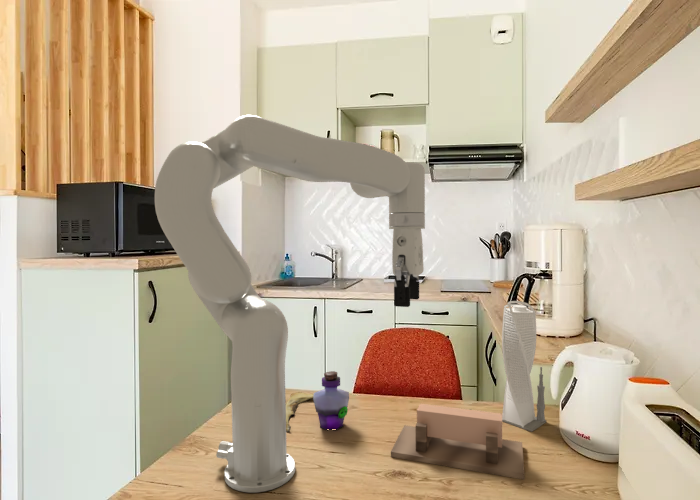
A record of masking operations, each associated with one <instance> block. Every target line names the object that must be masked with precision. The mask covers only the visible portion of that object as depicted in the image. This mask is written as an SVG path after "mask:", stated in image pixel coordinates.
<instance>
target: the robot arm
mask: <svg viewBox="0 0 700 500" xmlns="http://www.w3.org/2000/svg"><path fill="white" fill-rule="evenodd" d="M253 167H254V168H259V169H262V170H266V171H269V172H270V171H271V172H274V173H278V174H282V175H285V176H289V177H292V178H295V179H297V180H300V181H306V182H311V183H313V182H314V183H331V182H333V183H338V182H339V183H350V187H351V190H353V192H354V193H355V194H356V195H358V196H359V197H362V198H366V199H375V198H382V197H387V198H388V213H389V214H388V229H389V230H392V250H391V251H392V255H391V256H392V258H391V260H392V262H391V264H392V275H394V276H393V277H394V278H393V279H394V281H393V304H394V305H393V306H395V307H398V308H399V307H401V308H409V307H410V306H411V300H419V299H420V281H419V280H420V276H419V275H421V274H423V272H424V269H425V268H424V267H425V266H424V249H423V247H424V245H423V235H422V229H423V230H425V228H426V223H425V222H426V214H425V213H426V207H425V205H426V202H425V201H426V200H425V199H426V197H425V196H426V188H425V187H426V185H425V184H426V183H425V182H426V181H425V177H426V176H425V175H426V174H425V167H424V165H423V164H422V163H419V162H414V161H412V162H411V161H405V160H404V158H402V157H400V156H399V155H397V154H395V153H393V152H390V151H387V150H386V149H381V148H380V147H376V146H373V145H370V144H369V145H368V144H366V143H360V142H353V141H347V140H341V139H336V138H330V137H322V136H319V135H316V134H311V133H308V132H305V131H303V130H300V129H297V128H294V127H291V126H287V125H285V124H282V123H279V122H276V121H273V120H270V119H268V118H264V117H260V116H258V115H252V114H246V115H241V116H239V117H237V118H236V119H235V120H233V121H232V122H231V123H229V125H228V126H227V127H226V128H225V129H223V130H221V131H220V132H218V133H217V134H215V135H213V136H211V137H209V138H207V139H206V140H203V141H201V142H198V141H187V142H183V143H181V144H179V145H177V146H175V147H174V148H173V149H172V150H171V151H170V152H169V153H168V155H167V157H166V159H165V160H164V162H163V164H162V166H161V168H160V170H159V173H158V174H157V175H158V176H157V178H156V180H155V181H156V182H155V187H154V188H155V189H154V208H155V214H156V216H157V220H158V223H159V225H160V228H161V230H162V231H163V234H164V235H165V237H166V239H167V240H168V242H169V243H170V244H171V247H172V248H173V249H174V251H175V253H176V255H177V256H178V258H179V260H180V261H181V263H182V264H183V266H184V267H185V268H186V270H187V271H188V272H187V274H188V275H187V276H188V281H189V283H190V285H191V288H192V289H193V291H194V292H195V294H196V296H197V297H198V298H199V299H200V301H201V302H202V304H203V305H204V306H205V308H206V309H207V311H208V312H209V314H210V315H211V317H212V318H213V320H215V323H217V325H218V326H219V327H220V329H221V330H222V332H223V333H224V334H225V335H226V337H227V338H228V339H229V340H230V341H231V344H232V351H231V352H232V353H231V354H232V355H231V362H230V364H231V365H230V392H231V393H230V394H231V425H232V427H231V429H232V430H231V431H232V433H231V435H232V442H231V441H225V440H221V441H220V442H219V444H218V450H217V451H216V455H215V456H216V458H218V459H221V460H222V459H225V460H226V461H227V465H226V467H225V468H224V474H223V476H224V481H225V483H226V485H228V487H230V489H233V490H236V491H239V492H243V493H251V494H252V493H261V492H267V491H271V490H274V489H276V488H279V487H281V486H283V485H284V484H286V483H288V481H290V480H291V479H292V478H293V476H294V474H295V472H296V462H295V459H294V458H293V456H291V455H290V454H289V453H287V452H288V451H287V431H286V403H287V401H286V400H287V399H286V396H287V395H286V358H287V357H286V355H287V347H288V340H289V339H288V338H289V327H288V326H289V325H288V321H287V320H286V316H285V315H284V313H283V312H282V311H281V309H280V308H279V307H278V306H277V305H275V304H274V303H272V302H271V301H268V299H267V300H266V299H264V298H261V297H260V295H259V294H258V292H257V291H256V290H255V288H254V287H253V285H252V272H251V269H250V267H249V264H248V263H247V262H246V260H245V259H244V257H243V256H242V255H241V253H240V252H239V251H238V249H237V247H236V246H235V244H234V243H233V242H232V240H231V238H230V237H229V235H228V234H227V233H226V231H225V229H224V228H223V226H222V224H221V222H220V221H219V219H218V217H217V215H216V213H215V211H214V208H213V203H212V202H213V201H212V197H213V196H212V193H213V192H214V191H213V190H214V189H215V188H218V187H219V186H221V185H223V184H225V183H227V182H228V181H231V180H232V179H234V178H236V177H238V176H239V175H241V174H243V173H244V172H246V171H247V170H249V169H251V168H253Z"/></svg>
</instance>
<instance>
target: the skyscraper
mask: <svg viewBox="0 0 700 500" xmlns="http://www.w3.org/2000/svg"><path fill="white" fill-rule="evenodd" d="M536 316H537V315H536V310H535V309H534V308H533V306H532V305H531V304H529V303H528V302H525V301H519V300H511V301H508V302H507V304H506V305H504V306H503V315H502V328H501V347H502V348H501V349H502V359H503V365H504V371H505V375H506V381H505V387H504V389H505V390H504V396H503V404H502V405H503V406H502V413H501V414H502V423H506V424H508V425H510V426H515V427H517V428H520V429H522V430H524V431H528V432H533V431H536V430H537V429H538V428H540V427H542V426H543V425H544V424H546V423H547V419H546V415H545V410H546V404H545V387H546V386H545V385H544V381H543V380H544V379H543V378H544V374H543V366H540V372H539V374H538V375H539V376H538V377H539V382H538V385H537V400H536V401H537V403H536V411H537V412H536V413H535V402H534V394H533V386H532V381H531V373H532V369H533V365H534V360H535V355H536V348H537V317H536ZM535 415H536V416H535Z"/></svg>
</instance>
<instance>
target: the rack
mask: <svg viewBox="0 0 700 500" xmlns="http://www.w3.org/2000/svg"><path fill="white" fill-rule="evenodd" d="M390 457H391V458H395V459H396V458H397V459H400V460H401V459H402V460H408V461H413V462H414V461H415V462H419V463H425V464H431V465H437V466H442V467H443V466H444V467H448V468H456V469H462V470H467V471H471V472H478V473H482V474H483V473H484V474H490V475H497V476H502V477H507V478H513V479H519V480H525V463H524V451H523V441H516V440H511V439H503V438H502V448H501V447H498V434H496V433H488V432H486V445H481V444H475V443H468V442H461V441H455V440H448V439H441V438H435V437H428V436H427V424H424V423H417V422H416V424H415V426H414V425H413V426H412V425H406V424H405V425H403V428H402V429H401V431H400V433H399V435H398V437H397V439H396V440H395V443H394V444H393V447H392V448H391V450H390Z"/></svg>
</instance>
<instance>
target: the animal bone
mask: <svg viewBox="0 0 700 500" xmlns="http://www.w3.org/2000/svg"><path fill="white" fill-rule="evenodd" d="M313 396H314V393H305V392H302V391H301V392H300V391H298V392H293V393H291V394H290V396H289V399H288V400H287V401H286V433H287V432H288V433H290V431H291V427H292V426H291V425H290V422H289V419H290V418H291V416H293V415H294V416H295V412H296V410H297V409H298V408H299V404H301V403H303V402H305V401H308V400H310V399H313Z"/></svg>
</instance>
